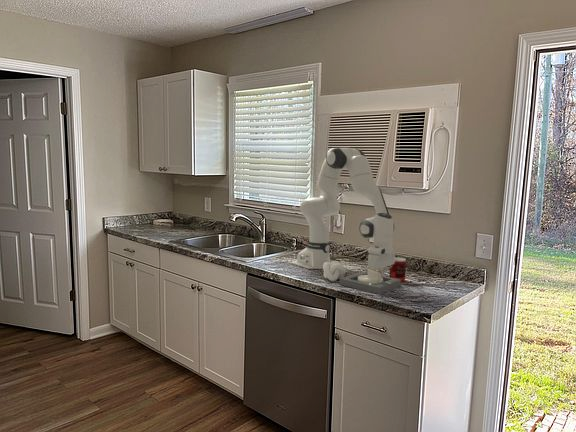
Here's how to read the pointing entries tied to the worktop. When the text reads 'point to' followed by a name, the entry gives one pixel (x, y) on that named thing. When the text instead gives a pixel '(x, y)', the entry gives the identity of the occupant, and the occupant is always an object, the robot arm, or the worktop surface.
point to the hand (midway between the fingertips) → (381, 276)
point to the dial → (371, 277)
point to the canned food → (398, 269)
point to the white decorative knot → (333, 270)
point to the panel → (380, 288)
